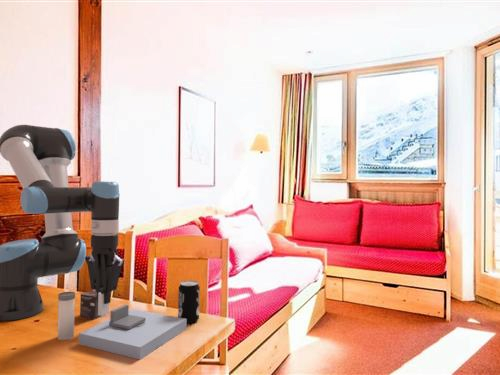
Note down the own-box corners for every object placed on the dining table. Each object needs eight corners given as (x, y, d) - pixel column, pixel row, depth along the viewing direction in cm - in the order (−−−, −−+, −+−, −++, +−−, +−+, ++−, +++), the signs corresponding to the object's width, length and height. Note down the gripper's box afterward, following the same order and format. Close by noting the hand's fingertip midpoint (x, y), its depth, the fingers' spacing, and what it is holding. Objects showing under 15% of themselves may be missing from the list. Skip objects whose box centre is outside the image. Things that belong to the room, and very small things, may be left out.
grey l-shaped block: (108, 325, 101) (109, 311, 101) (126, 316, 108) (126, 304, 108) (128, 329, 99) (129, 315, 99) (145, 320, 105) (145, 307, 105)
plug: (53, 338, 100) (54, 294, 100) (66, 333, 103) (67, 290, 103) (65, 341, 98) (65, 297, 98) (77, 335, 102) (78, 292, 102)
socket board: (78, 344, 96) (79, 333, 96) (132, 318, 116) (132, 308, 116) (140, 359, 89) (140, 347, 89) (186, 328, 108) (186, 318, 108)
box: (79, 317, 116) (79, 294, 116) (94, 311, 122) (94, 289, 122) (94, 319, 114) (94, 296, 114) (108, 313, 119) (108, 291, 119)
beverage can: (194, 325, 111) (195, 286, 111) (174, 323, 112) (175, 284, 112) (201, 317, 117) (202, 280, 117) (182, 316, 119) (183, 279, 119)
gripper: (77, 233, 106) (76, 314, 106) (112, 237, 101) (111, 321, 101) (97, 231, 113) (96, 307, 113) (131, 233, 108) (129, 313, 108)
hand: (103, 314), depth 107 cm, fingers closed
